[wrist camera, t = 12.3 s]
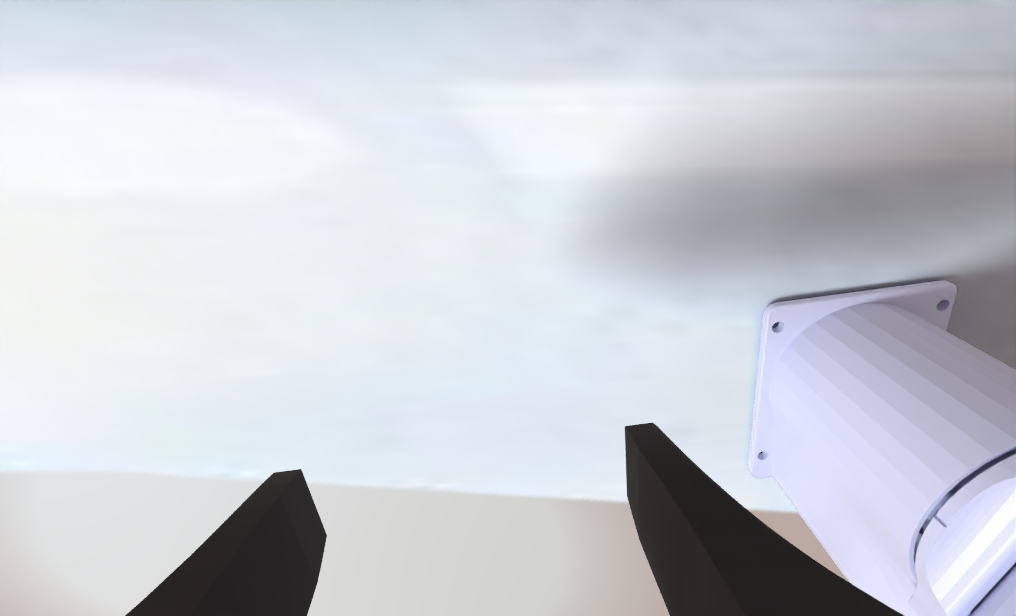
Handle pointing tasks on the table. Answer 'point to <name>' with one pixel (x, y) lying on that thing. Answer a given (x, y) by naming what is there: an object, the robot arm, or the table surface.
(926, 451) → the robot arm
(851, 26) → the table surface
